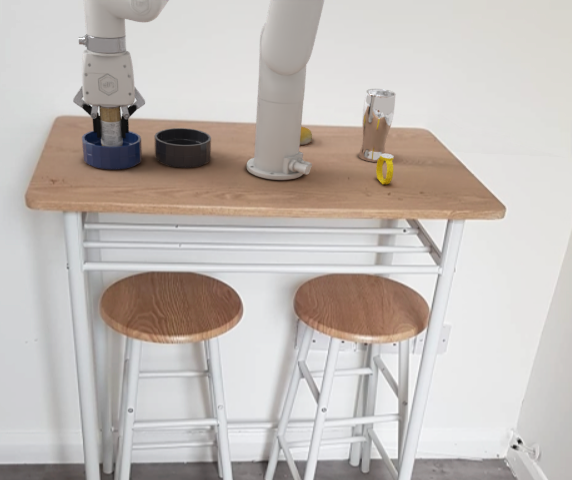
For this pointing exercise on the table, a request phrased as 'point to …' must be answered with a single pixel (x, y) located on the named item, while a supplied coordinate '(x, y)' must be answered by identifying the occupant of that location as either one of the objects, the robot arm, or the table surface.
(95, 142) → the navy bowl
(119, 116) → the sprinkles bottle
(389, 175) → the watch
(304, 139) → the bread roll
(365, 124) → the beer glass
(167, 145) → the charcoal bowl
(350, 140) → the table surface
